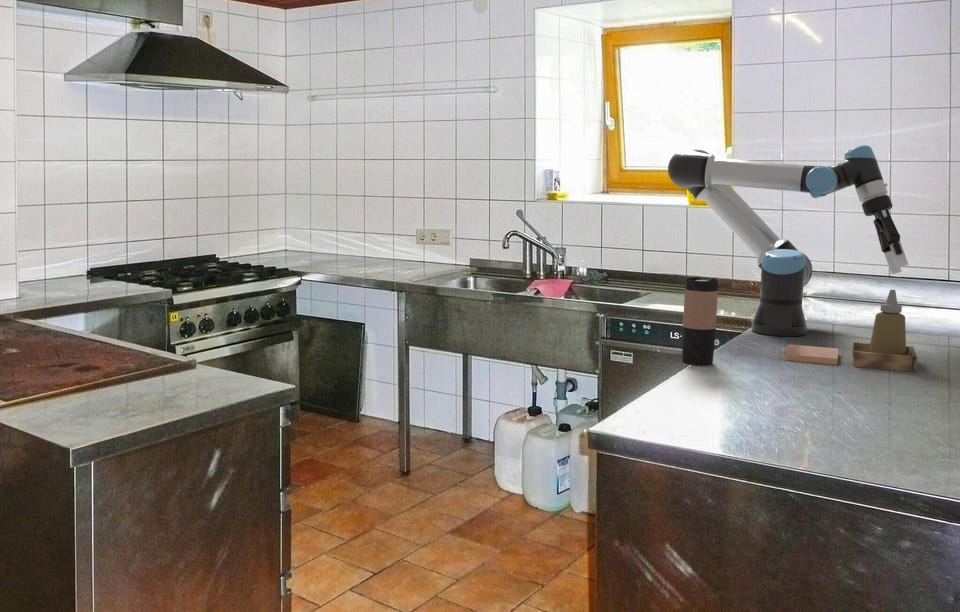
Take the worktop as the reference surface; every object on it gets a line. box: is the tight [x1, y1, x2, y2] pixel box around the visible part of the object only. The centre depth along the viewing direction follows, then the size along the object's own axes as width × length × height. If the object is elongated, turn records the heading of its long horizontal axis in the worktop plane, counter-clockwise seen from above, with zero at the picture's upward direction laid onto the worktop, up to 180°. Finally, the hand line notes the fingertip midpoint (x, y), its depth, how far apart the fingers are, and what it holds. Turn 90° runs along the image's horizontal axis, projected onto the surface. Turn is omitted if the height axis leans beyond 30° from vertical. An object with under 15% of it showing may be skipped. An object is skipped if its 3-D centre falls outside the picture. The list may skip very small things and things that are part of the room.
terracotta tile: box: [784, 344, 839, 366], centre depth 223 cm, size 12×14×2 cm
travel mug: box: [681, 277, 719, 367], centre depth 212 cm, size 8×8×20 cm
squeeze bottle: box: [869, 289, 907, 355], centre depth 216 cm, size 8×8×18 cm
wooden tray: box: [852, 341, 918, 373], centre depth 217 cm, size 14×14×4 cm
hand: (899, 269), depth 250 cm, fingers open, 13 cm apart
